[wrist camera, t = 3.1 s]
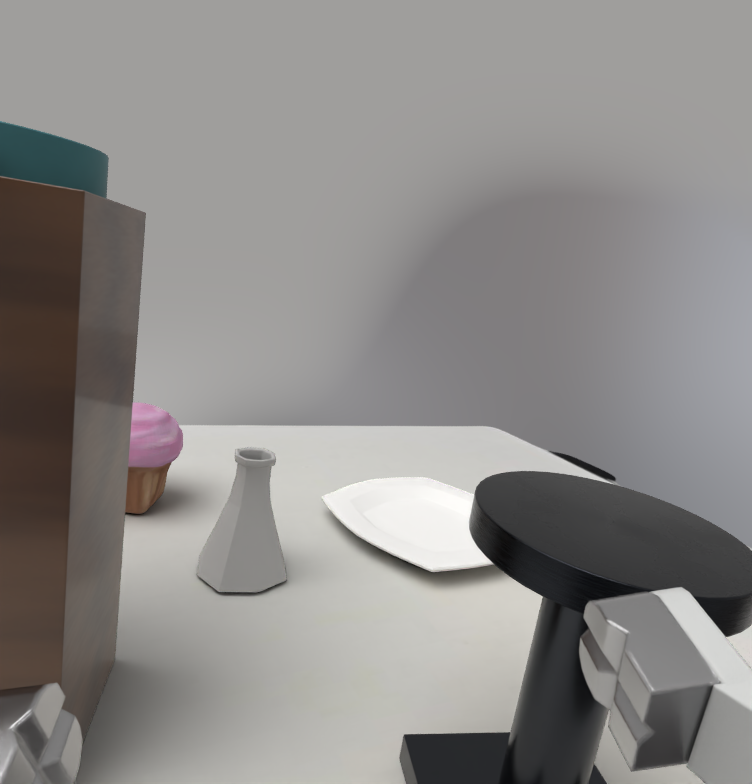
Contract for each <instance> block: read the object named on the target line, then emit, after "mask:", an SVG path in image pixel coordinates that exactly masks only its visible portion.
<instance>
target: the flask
mask: <svg viewBox="0 0 752 784" xmlns="http://www.w3.org/2000/svg"><path fill="white" fill-rule="evenodd" d="M235 461H236V462H237V463H238V465H237V473H236V477H235V481H234V484H233V487H232V491H231V494H230V496H229V498H228V501H227V503H226V505H225V507H224V509H223V511H222V513H221V515H220V517H219V519H218V521H217V523H216V525H215V527H214V529H213V531H212V532H211V534H210V536H209V538H208V540H207V542H206V544H205V546H204V548H203V550H202V552H201V554H200V556H199V562H198V569H197V575H198V576H199V577H200V578H202V579H203V580H204V581H205V582H207V583H208V584H209V585H210V586H212V587H213V588H214V589H216V590H217V591H218V592H260V591H262V590H265V589H267V588H269V587H272V586H274V585H276V584H279V583H281V582H284V581H286V580H287V578H286V571H285V564H284V558H283V554H282V549H281V546H280V542H279V538H278V534H277V530H276V525H275V521H274V516H273V511H272V506H271V501H270V484H269V483H270V473H271V467H272V466H274V465H275V462H276V456H275V453H273V452H271V451H269V450H267V449H265V448H253V447H247V448H241V449H236V450H235Z"/></svg>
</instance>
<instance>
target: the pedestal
mask: <svg viewBox="0 0 752 784" xmlns="http://www.w3.org/2000/svg"><path fill="white" fill-rule="evenodd" d="M145 218H146V213H145V212H142V211H139V210H136V209H134V208H131V207H128V206H125V205H122V204H120V203H117V202H114V201H112V200H109V199H106V198H103V197H101V196H98V195H95V194H92V193H89V192H87V191H84V190H79V189H73V188H67V187H61V186H55V185H50V184H44V183H38V182H32V181H26V180H20V179H15V178H9V177H3V176H0V690H3V689H11V688H19V687H27V686H35V685H43V684H51V683H58V685H59V686H60V688H61V690H62V691H63V693H64V695H65V696H66V697H65V700H64V702H63V705H62V708H61V709H63V710H65V711H67V712H69V713H71V714H73V715H75V716H76V718H77V720H78V723H79V725H80V728H81V734H82V740H83V741H84V739H85V736H86V733H87V731H88V728H89V726H90V723H91V720H92V718H93V715H94V713H95V710H96V707H97V705H98V702H99V699H100V697H101V694H102V692H103V689H104V686H105V684H106V681H107V678H108V676H109V673H110V671H111V668H112V665H113V663H114V660H115V652H116V637H117V623H118V608H119V594H120V579H121V565H122V550H123V536H124V522H125V507H126V493H127V478H128V464H129V449H130V435H131V420H132V406H133V391H134V377H135V363H136V347H137V334H138V333H137V332H138V319H139V305H140V290H141V275H142V261H143V247H144V232H145ZM82 744H83V742H82Z"/></svg>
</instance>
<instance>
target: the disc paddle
mask: <svg viewBox="0 0 752 784" xmlns="http://www.w3.org/2000/svg"><path fill="white" fill-rule="evenodd" d="M0 176H3V177H9V178H15V179H20V180H26V181H32V182H38V183H44V184H50V185H55V186H61V187H67V188H73V189H79V190H84V191H87V192H89V193H92V194H95V195H98V196H101V197H103V198H106V195H107V194H106V193H107V177H108V156H107V155H106V154H104V153H102V152H101V151H99V150H96V149H94V148H92V147H89V146H86V145H84V144H80V143H78V142H75V141H72V140H68V139H65V138H62V137H59V136H55V135H52V134H48V133H45V132H41V131H37V130H33V129H29V128H26V127H22V126H18V125H14V124H10V123H6V122H2V121H0Z"/></svg>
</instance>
